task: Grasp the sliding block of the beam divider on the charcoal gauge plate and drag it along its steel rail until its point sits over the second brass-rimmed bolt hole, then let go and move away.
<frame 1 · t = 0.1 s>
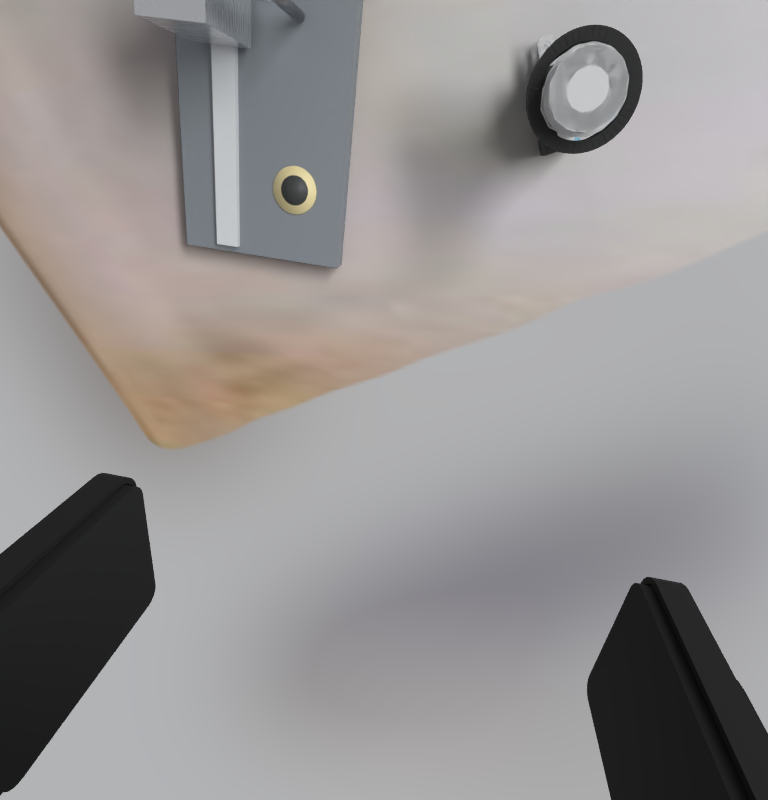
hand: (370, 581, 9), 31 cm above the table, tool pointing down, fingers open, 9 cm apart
push button: (551, 101, 32), on the table
gauge plate: (271, 38, 32), on the table
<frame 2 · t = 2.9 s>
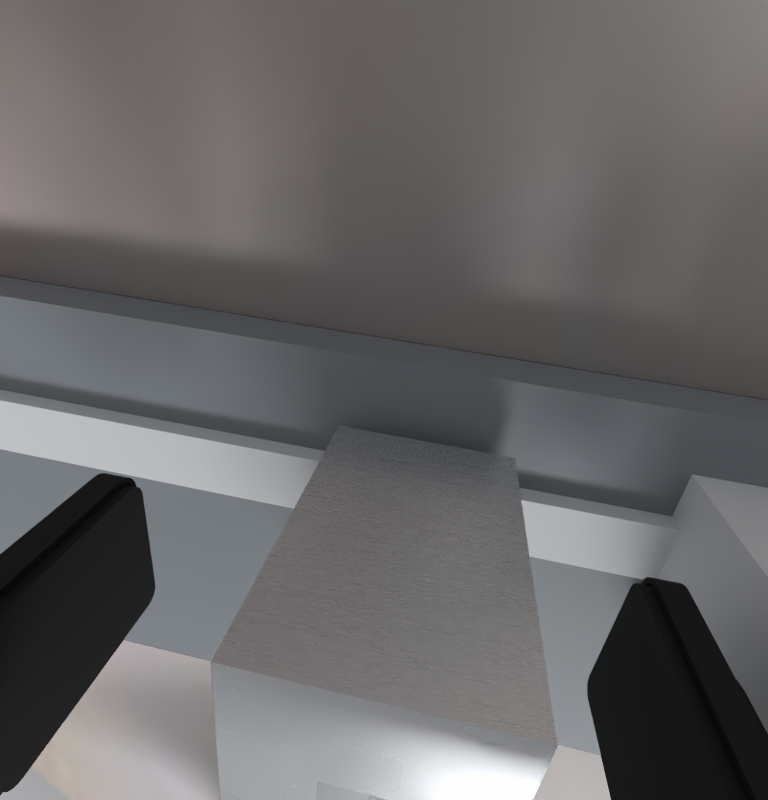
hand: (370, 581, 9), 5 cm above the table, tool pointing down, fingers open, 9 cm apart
sliding block: (386, 663, 10), point 5 cm above the table, slide at 8.0 cm
gauge plate: (377, 525, 15), on the table
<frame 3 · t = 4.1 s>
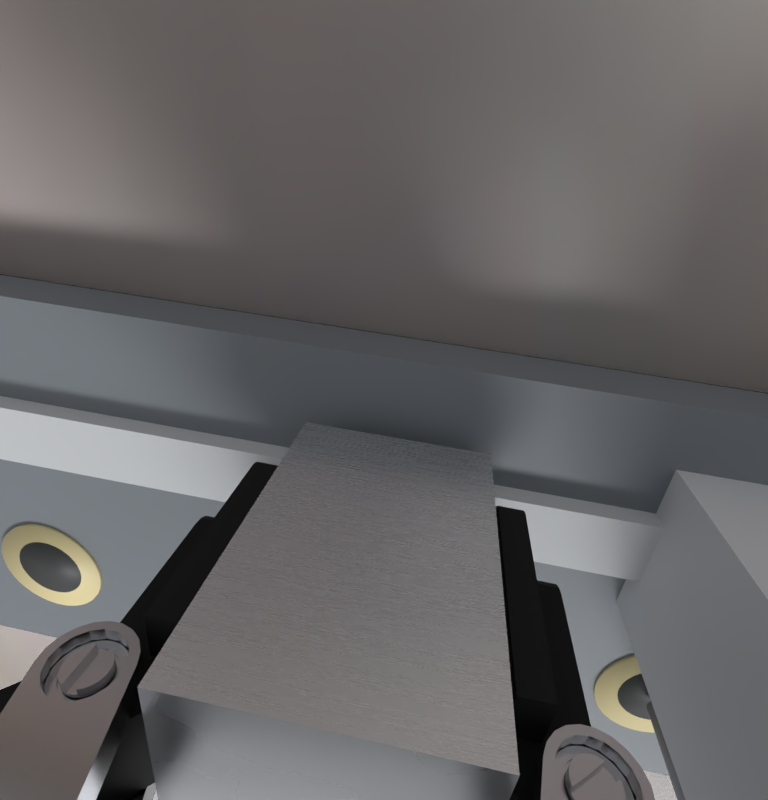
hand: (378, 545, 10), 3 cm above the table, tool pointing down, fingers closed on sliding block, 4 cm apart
sliding block: (355, 672, 9), point 5 cm above the table, slide at 8.0 cm, touching gripper
gauge plate: (354, 525, 14), on the table
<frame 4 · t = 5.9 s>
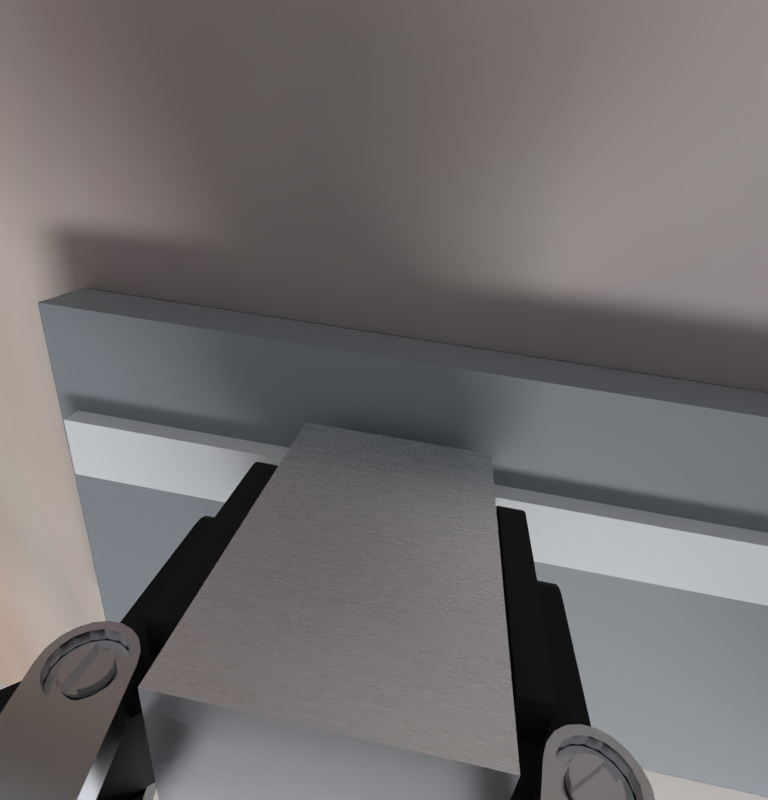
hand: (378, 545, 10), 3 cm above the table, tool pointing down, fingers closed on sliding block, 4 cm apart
sliding block: (355, 673, 9), point 5 cm above the table, slide at 14.4 cm, touching gripper
gauge plate: (575, 567, 14), on the table
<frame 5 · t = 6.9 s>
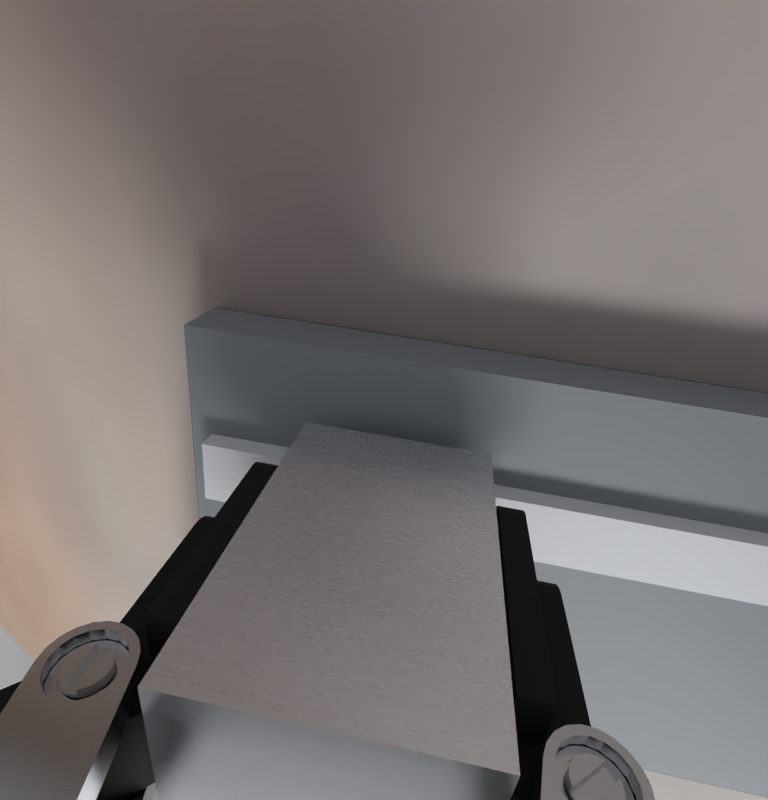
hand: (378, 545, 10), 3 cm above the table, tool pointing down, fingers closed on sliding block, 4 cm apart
sliding block: (355, 672, 9), point 5 cm above the table, slide at 17.9 cm, touching gripper
gauge plate: (703, 591, 13), on the table
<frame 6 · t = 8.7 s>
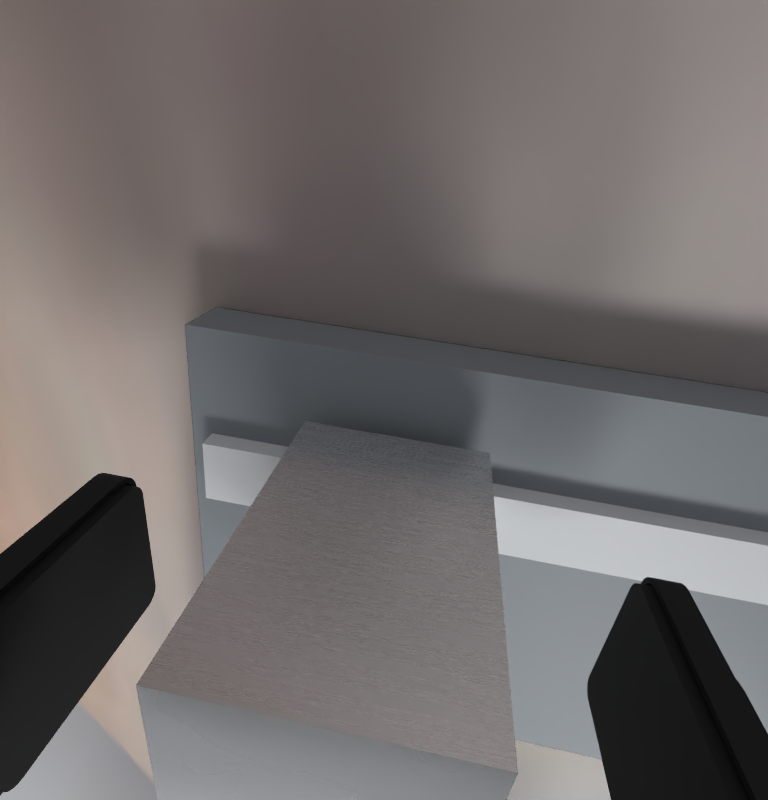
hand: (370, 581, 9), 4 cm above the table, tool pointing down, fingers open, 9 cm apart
sliding block: (354, 671, 9), point 5 cm above the table, slide at 18.0 cm
gauge plate: (703, 591, 13), on the table
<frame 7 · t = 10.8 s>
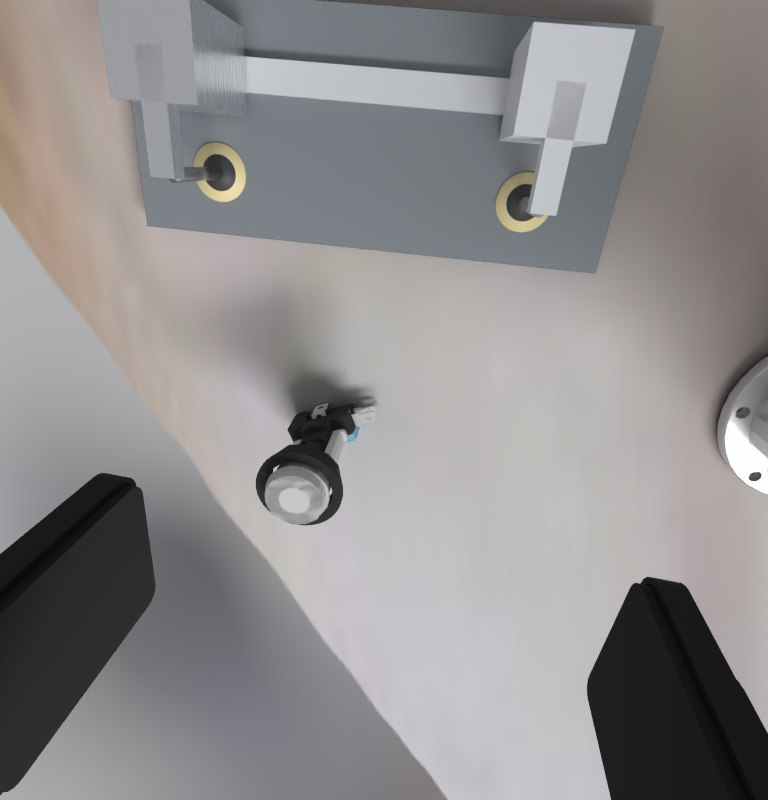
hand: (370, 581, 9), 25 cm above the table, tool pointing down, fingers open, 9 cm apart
sliding block: (186, 101, 24), point 5 cm above the table, slide at 18.0 cm
push button: (337, 416, 37), on the table
gauge plate: (375, 140, 28), on the table
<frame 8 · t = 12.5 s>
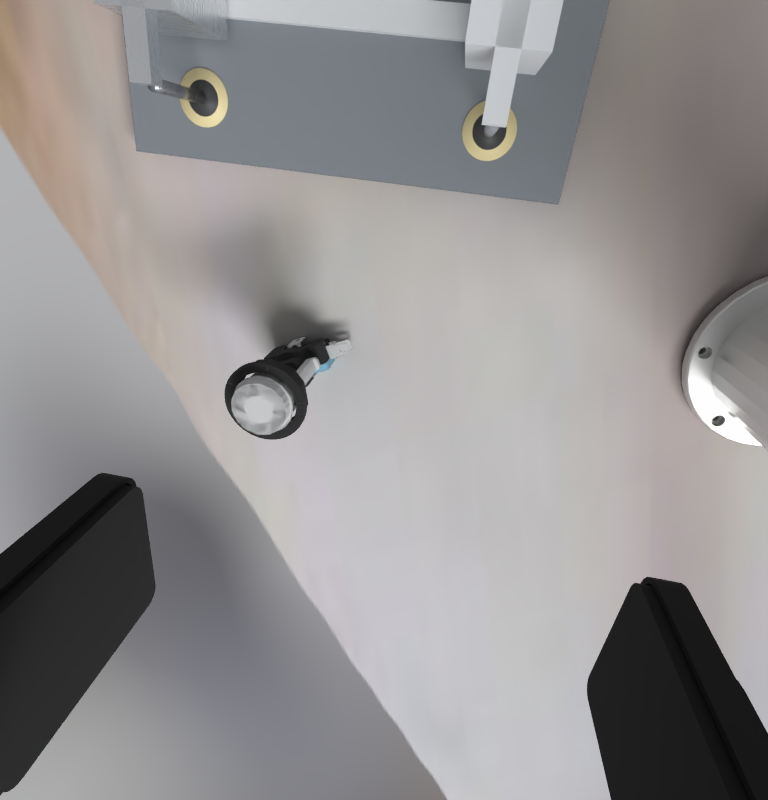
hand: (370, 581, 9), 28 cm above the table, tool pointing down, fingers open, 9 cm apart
sliding block: (168, 17, 26), point 5 cm above the table, slide at 18.0 cm
push button: (314, 351, 39), on the table
gauge plate: (351, 70, 30), on the table
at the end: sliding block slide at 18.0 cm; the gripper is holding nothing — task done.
